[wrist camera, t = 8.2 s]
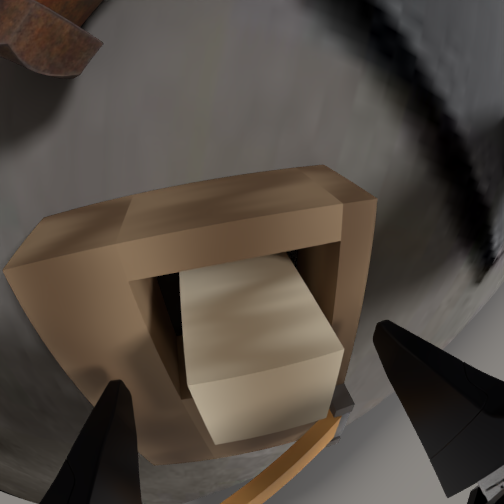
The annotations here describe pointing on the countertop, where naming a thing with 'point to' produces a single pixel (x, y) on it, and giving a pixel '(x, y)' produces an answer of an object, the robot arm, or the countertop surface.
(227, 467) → the countertop surface
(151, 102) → the countertop surface
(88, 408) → the countertop surface
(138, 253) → the block
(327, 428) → the gate
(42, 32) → the bolt
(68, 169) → the countertop surface
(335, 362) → the peg
